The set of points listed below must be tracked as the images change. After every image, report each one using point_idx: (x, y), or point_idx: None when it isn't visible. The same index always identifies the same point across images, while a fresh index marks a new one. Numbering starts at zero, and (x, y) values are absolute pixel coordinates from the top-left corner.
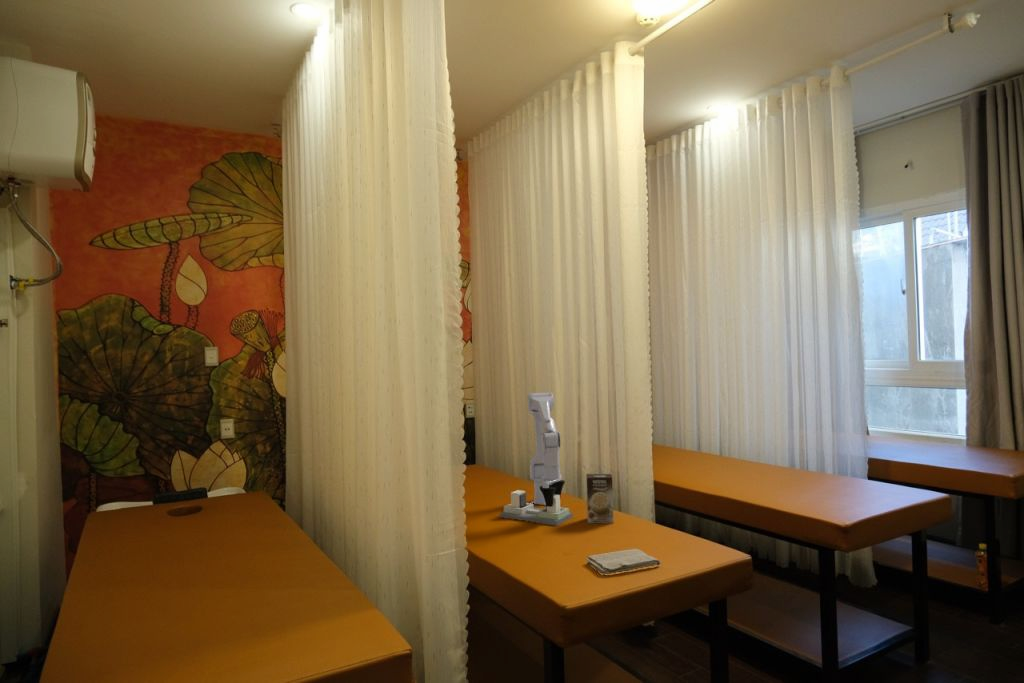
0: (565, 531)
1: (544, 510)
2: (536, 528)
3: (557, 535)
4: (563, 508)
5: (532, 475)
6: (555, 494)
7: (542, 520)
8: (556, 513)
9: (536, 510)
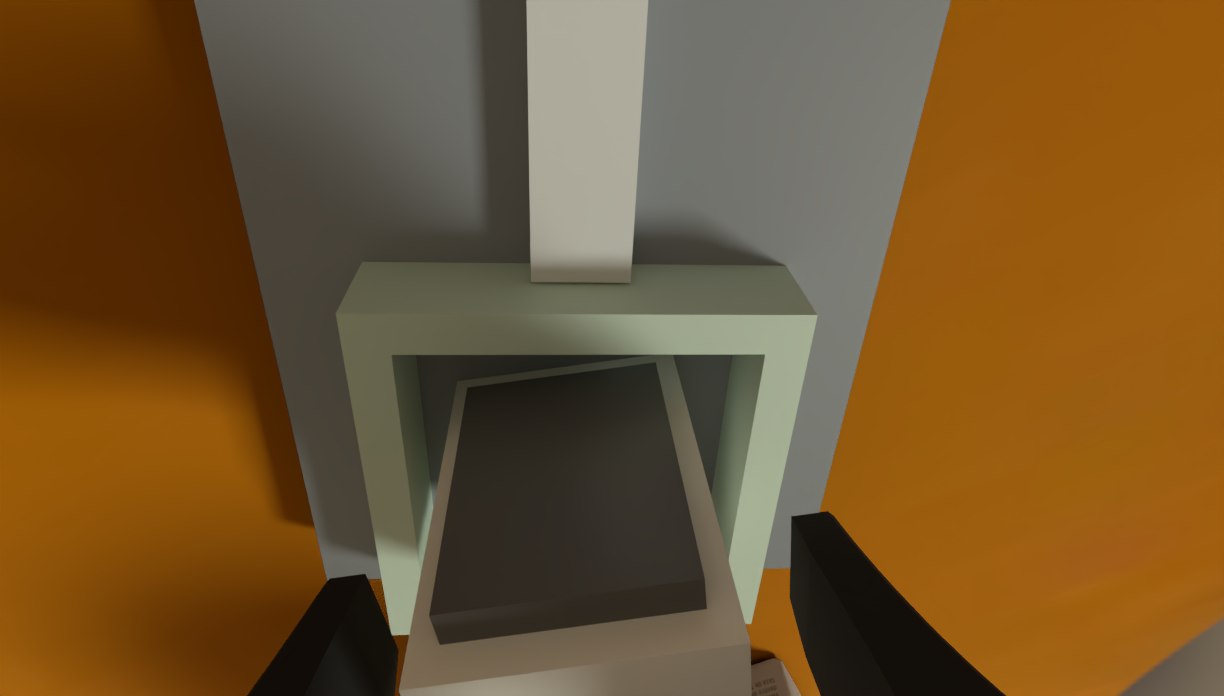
0: (229, 674)
1: (528, 343)
2: (54, 381)
3: (51, 673)
4: None
5: None
6: (843, 666)
7: (286, 379)
8: (412, 608)
9: (596, 96)
